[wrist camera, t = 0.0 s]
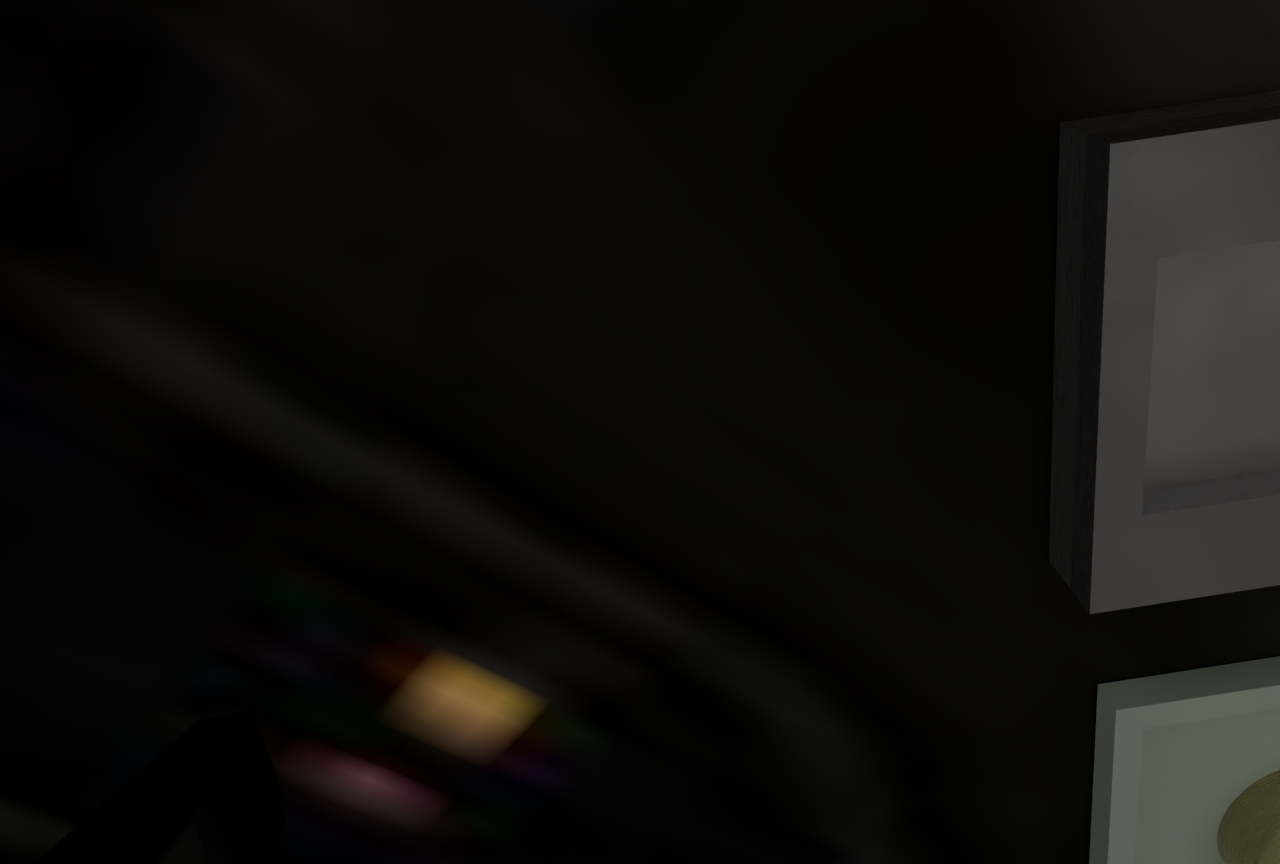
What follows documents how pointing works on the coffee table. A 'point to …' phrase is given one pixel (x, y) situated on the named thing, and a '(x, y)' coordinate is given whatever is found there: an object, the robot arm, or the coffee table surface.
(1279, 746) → the pad
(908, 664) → the coffee table surface
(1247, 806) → the billet
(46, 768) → the coffee table surface
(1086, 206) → the pallet plate
